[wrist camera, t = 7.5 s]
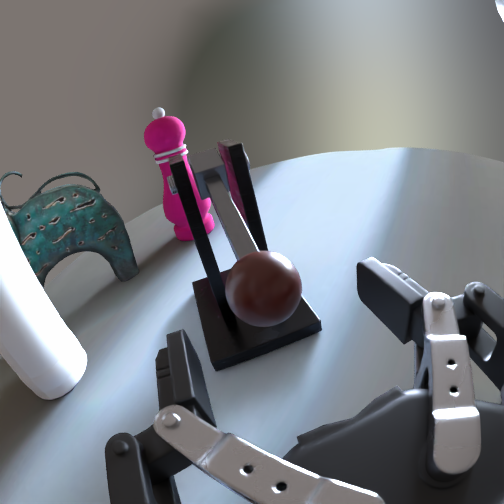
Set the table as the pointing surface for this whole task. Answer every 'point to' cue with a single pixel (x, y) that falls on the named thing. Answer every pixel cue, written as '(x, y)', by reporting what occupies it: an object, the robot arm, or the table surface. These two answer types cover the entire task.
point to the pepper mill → (166, 145)
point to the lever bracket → (213, 286)
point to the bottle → (34, 326)
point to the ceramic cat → (70, 228)
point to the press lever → (247, 254)
